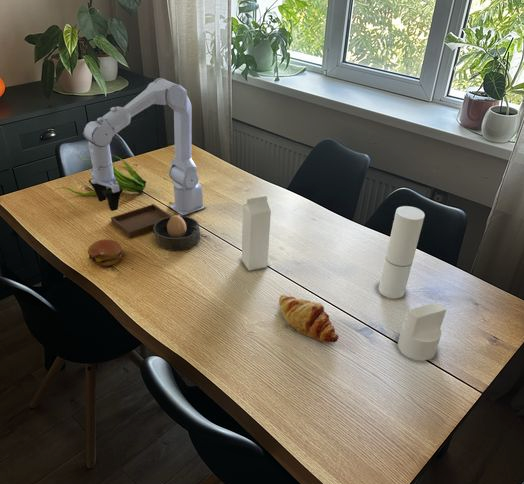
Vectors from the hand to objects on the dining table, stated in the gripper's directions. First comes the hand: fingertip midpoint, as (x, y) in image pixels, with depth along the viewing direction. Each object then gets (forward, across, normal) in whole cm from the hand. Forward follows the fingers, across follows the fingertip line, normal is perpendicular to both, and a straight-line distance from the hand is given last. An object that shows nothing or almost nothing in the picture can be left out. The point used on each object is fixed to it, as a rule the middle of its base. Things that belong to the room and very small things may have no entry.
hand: (108, 205), depth 153 cm
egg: (+10, +15, +14) cm, 23 cm away
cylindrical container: (+10, +75, +47) cm, 89 cm away
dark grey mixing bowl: (+10, +15, +14) cm, 23 cm away
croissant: (+10, +70, +18) cm, 73 cm away
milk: (+10, +41, +25) cm, 49 cm away
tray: (+10, 0, +11) cm, 15 cm away
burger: (+10, +12, -8) cm, 18 cm away
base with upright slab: (+10, +93, +33) cm, 99 cm away
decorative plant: (+10, -27, +10) cm, 31 cm away
